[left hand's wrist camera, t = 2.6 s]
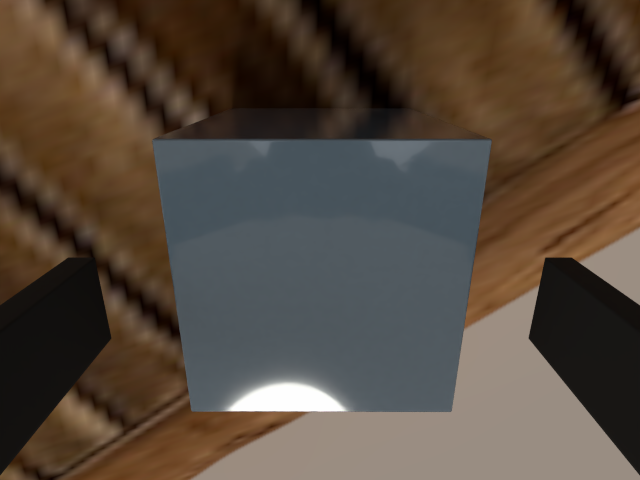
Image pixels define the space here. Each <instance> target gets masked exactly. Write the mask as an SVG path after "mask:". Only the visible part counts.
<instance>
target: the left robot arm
mask: <svg viewBox="0 0 640 480" xmlns="http://www.w3.org/2000/svg"><path fill="white" fill-rule="evenodd" d="M110 339H111V334H110V329H109V324H108V320H107V315H106V310H105V305H104V300H103V296H102V291H101V286H100V281H99V276H98V271H97V267H96V262H95V258H67V259H66V260H64V261H63V262H61V263H60V264H59V265H57V266H56V267H54V268H53V269H51V270H50V271H49V272H47V273H46V274H44V275H43V276H41V277H40V278H39V279H37V280H36V281H34V282H33V283H31V284H30V285H29V286H27V287H26V288H24V289H23V290H21V291H20V292H19V293H17V294H16V295H14V296H13V297H11V298H10V299H9V300H7V301H6V302H4V303H3V304H1V305H0V475H1V474H2V472H3V471H4V470H5V469H6V467H7V466H8V465H9V464H10V463H11V461H12V460H13V459H14V458H15V456H16V455H17V454H18V453H19V451H20V450H21V449H22V448H23V447H24V445H25V444H26V443H27V442H28V440H29V439H30V438H31V437H32V435H33V434H34V433H35V432H36V431H37V429H38V428H39V427H40V426H41V424H42V423H43V422H44V421H45V419H46V418H47V417H48V416H49V415H50V413H51V412H52V411H53V410H54V408H55V407H56V406H57V405H58V403H59V402H60V401H61V400H62V399H63V397H64V396H65V395H66V394H67V392H68V391H69V390H70V389H71V387H72V386H73V385H74V384H75V383H76V381H77V380H78V379H79V378H80V376H81V375H82V374H83V373H84V371H85V370H86V369H87V368H88V366H89V365H90V364H91V363H92V362H93V360H94V359H95V358H96V357H97V355H98V354H99V353H100V352H101V350H102V349H103V348H104V347H105V346H106V344H107V343H108V342H109V341H110ZM529 339H530V341H531V342H532V343H533V344H534V346H535V347H536V348H537V349H538V350H539V352H540V353H541V354H542V355H543V357H544V358H545V359H546V360H547V362H548V363H549V364H550V365H551V366H552V368H553V369H554V370H555V371H556V373H557V374H558V375H559V376H560V378H561V379H562V380H563V381H564V383H565V384H566V385H567V386H568V387H569V389H570V390H571V391H572V392H573V394H574V395H575V396H576V397H577V399H578V400H579V401H580V402H581V403H582V405H583V406H584V407H585V408H586V410H587V411H588V412H589V413H590V415H591V416H592V417H593V418H594V419H595V421H596V422H597V423H598V424H599V426H600V427H601V428H602V429H603V430H604V432H605V433H606V434H607V435H608V437H609V438H610V439H611V440H612V442H613V443H614V444H615V445H616V447H617V448H618V449H619V450H620V451H621V453H622V454H623V455H624V456H625V458H626V459H627V460H628V461H629V463H630V464H631V465H632V466H633V467H634V469H635V470H636V471H637V472H638V474H639V475H640V305H638V304H637V303H636V302H634V301H633V300H631V299H630V298H628V297H627V296H626V295H624V294H623V293H621V292H620V291H619V290H617V289H616V288H614V287H613V286H611V285H610V284H609V283H607V282H606V281H604V280H603V279H601V278H600V277H599V276H597V275H596V274H594V273H593V272H591V271H590V270H589V269H587V268H586V267H584V266H583V265H581V264H580V263H579V262H577V261H576V260H574V259H573V258H545V262H544V267H543V271H542V276H541V281H540V286H539V291H538V296H537V300H536V305H535V310H534V315H533V320H532V324H531V329H530V334H529Z"/></svg>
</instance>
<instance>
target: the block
mask: <svg viewBox="0 0 640 480" xmlns="http://www.w3.org/2000/svg"><path fill="white" fill-rule="evenodd" d="M152 142H153V149H154V156H155V162H156V169H157V176H158V183H159V190H160V197H161V204H162V211H163V218H164V225H165V231H166V238H167V245H168V252H169V259H170V266H171V273H172V280H173V287H174V293H175V300H176V307H177V314H178V321H179V328H180V335H181V342H182V349H183V355H184V362H185V369H186V376H187V383H188V390H189V397H190V404H191V410H192V411H248V412H451V411H452V405H453V398H454V391H455V385H456V378H457V371H458V364H459V358H460V351H461V344H462V337H463V331H464V324H465V317H466V311H467V304H468V297H469V290H470V284H471V277H472V270H473V263H474V257H475V250H476V243H477V237H478V230H479V223H480V216H481V210H482V203H483V196H484V189H485V183H486V176H487V169H488V163H489V156H490V149H491V142H492V140H491V139H489V138H486V137H484V136H481V135H479V134H476V133H473V132H471V131H468V130H465V129H463V128H460V127H458V126H455V125H452V124H450V123H447V122H444V121H442V120H439V119H437V118H434V117H431V116H429V115H426V114H424V113H421V112H418V111H416V110H413V109H410V108H232V109H230V110H227V111H225V112H222V113H220V114H217V115H214V116H212V117H209V118H207V119H204V120H201V121H199V122H196V123H194V124H191V125H188V126H186V127H183V128H181V129H178V130H176V131H173V132H170V133H168V134H165V135H163V136H160V137H157V138H155V139H153V141H152Z"/></svg>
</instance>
